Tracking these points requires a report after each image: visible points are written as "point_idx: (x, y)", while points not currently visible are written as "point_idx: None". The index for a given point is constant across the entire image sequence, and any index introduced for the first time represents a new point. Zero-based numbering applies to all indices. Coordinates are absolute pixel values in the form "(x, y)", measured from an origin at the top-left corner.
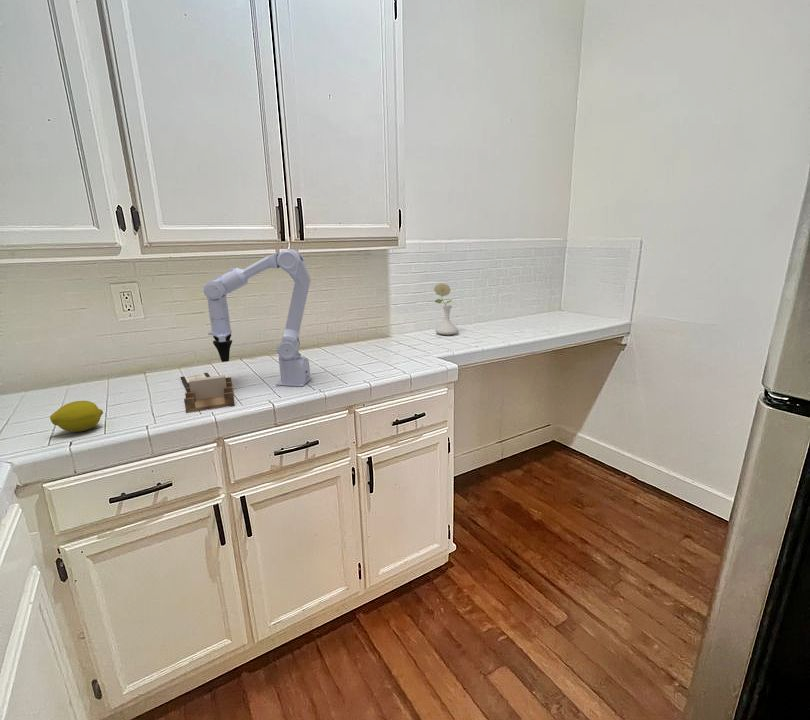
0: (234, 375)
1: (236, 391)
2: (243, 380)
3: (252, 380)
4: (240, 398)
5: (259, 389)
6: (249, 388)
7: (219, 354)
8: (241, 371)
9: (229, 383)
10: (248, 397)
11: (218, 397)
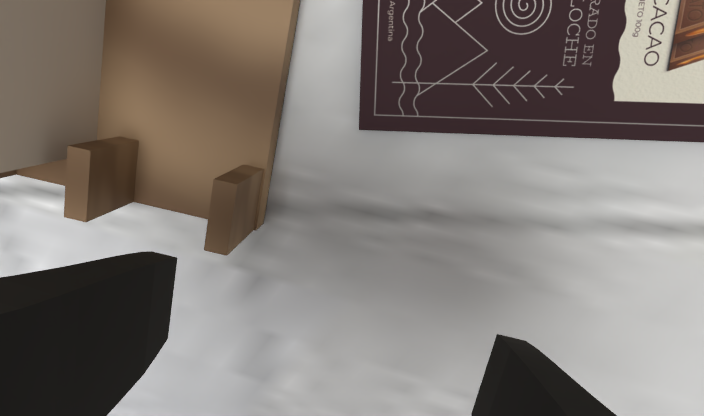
0: (605, 328)
1: (184, 228)
2: (415, 343)
3: (370, 392)
4: (25, 210)
5: None
6: (200, 319)
7: (38, 274)
8: (679, 405)
9: (70, 196)
10: (21, 258)
11: None
